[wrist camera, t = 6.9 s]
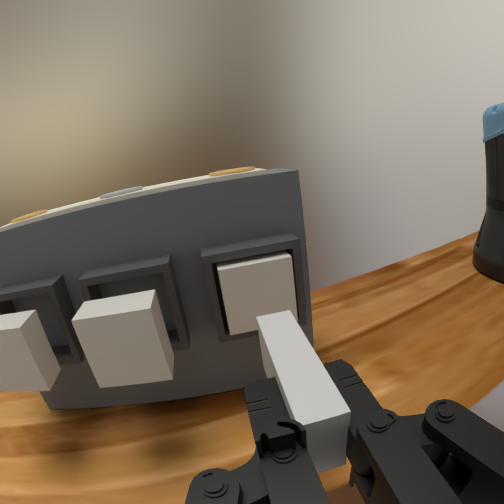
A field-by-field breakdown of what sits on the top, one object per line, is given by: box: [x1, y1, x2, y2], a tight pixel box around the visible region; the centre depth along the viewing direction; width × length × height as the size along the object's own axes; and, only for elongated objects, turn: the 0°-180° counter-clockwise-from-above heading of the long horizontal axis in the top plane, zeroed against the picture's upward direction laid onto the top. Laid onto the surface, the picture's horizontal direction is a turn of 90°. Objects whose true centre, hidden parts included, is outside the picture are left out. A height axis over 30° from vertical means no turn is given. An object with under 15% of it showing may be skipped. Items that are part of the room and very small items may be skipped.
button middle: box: [71, 289, 174, 388], centre depth 16 cm, size 4×2×4 cm, turn 99°
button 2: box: [216, 250, 298, 335], centre depth 21 cm, size 4×2×4 cm, turn 99°
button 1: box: [0, 310, 61, 391], centre depth 15 cm, size 4×2×4 cm, turn 99°
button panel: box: [0, 167, 314, 409], centre depth 23 cm, size 24×7×16 cm, turn 99°
